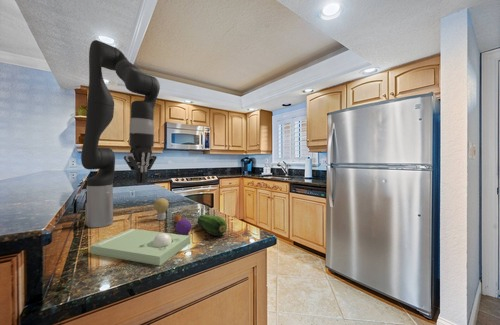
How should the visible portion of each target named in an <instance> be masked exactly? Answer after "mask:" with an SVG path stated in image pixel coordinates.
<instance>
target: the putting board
mask: <svg viewBox="0 0 500 325" xmlns="http://www.w3.org/2000/svg"><path fill="white" fill-rule="evenodd" d="M162 233H163V232H160V231H153V230H144V229H136V228H130V229H127V230H124V231H122V232H120V233H117V234H114V235H113V236H109V237H108V238H105V239H103V240H101V241H97V242H95V243H93V244H91V245H89V246H90V247H89V248H90V249H89V254H90V253H91V255H98V256H101V257H102V256H103V257H109V258H113V259H120V260H126V261H132V262H138V263H141V264H142V263H143V264H148V265H155V266H161V265H163V264H164V263H165V262H167V261H168V260H170V259H171V258H172V257H173V256H175V255H176V254H177V253H179V252H180V251H181V250H183V249H184V248H185V247H187V246H188V245H190V244H191V235H187V234H186V235H179V234H178V233H177V234H176V233H171V232H170V233H169V232H164V233H165V234H168V235H169V236H170V237H171V240H172V243H171V244H169V245H168V246H166V247H163V248H154V246H153V241H154V239H155V237H156V236H157V235H159V234H162Z"/></svg>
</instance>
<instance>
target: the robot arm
mask: <svg viewBox="0 0 500 325" xmlns="http://www.w3.org/2000/svg"><path fill="white" fill-rule="evenodd" d="M88 51H89V52H88V69H89V70H88V72H89V73H88V79H89V80H88V81H89V82H88V91H87V92H88V93H87V101H86V118H85V119H86V120H85V130H84V137H83V141H82V142H83V143H82V148H81V153H80V154H81V155H80V162H81V165H82V167H83V169H85V170H98V172H97V173H96V174H94V175H93V176H91V177H88V178H87V179H86V202H85V206H84V208H85V209H84V210H85V211H84V212H85V214H84V216H85V226H87V227H88V228H90V229H91V228H102V227H106V226H108V227H109V226H110V225H112V224H113V223H114V193H113V192H114V191H113V190H114V188H113V187H114V183H113V182H114V179H115V173H116V172H115V170H116V168H115V167H116V156H115V153H114V150H113V149H111V148H110V147H99V143H100V142H99V140H100V137H102V134H103V132H104V131H105V130H106V129H107V127H109V125H110V124H111V122H112V121H113V119H114V113H115V112H114V111H115V100H114V97H113V96H112V94H111V92H110V90H109V89H108V87H107V84H106V83H105V80H104V77H103V71H102V68H103V69H106V70H109V71H115V73H116V75H117V77H118V78H119V79H120V80H121V81H122V82H123V83H124V86H125V88H126V90H128V91H129V92H131V93H134V94H137V95H141V96H144V99H143V100H134V101H132V102H131V103H130V119H129V120H130V121H129V134H128V136H129V137H128V138H129V140H128V141H129V143H128V144H129V146H130V150H129V153H128V155H124V157H123V159H124V162H125V163H126V164H127V166H128V167H129V168H130V170H131V171H134V172H135V175H136V177H135V181H136V182H137V184H143V183H145V182H146V179H147V178H146V176H147V174H146V173H147V172H148V171H150V170H151V169H152V167H153V166H154V164H155V162H156V160H157V158H158V157H157V155H154V154H153V150H152V148H153V147H154V146H155V145H154V144H155V143H154V142H155V141H154V139H155V137H154V136H155V125H154V123H155V122H154V115H155V114H154V112H155V110H154V109H155V106H156V102H157V99H158V97H159V93H160V89H161V88H160V86H161V85H160V82H159V79H157V78H156V77H155V76H153V75H150V74H146V73H143V72H142V70H141V69H140V68H139V67H137V66H136V65H135V64H133V63H131V62H130V61H129V60H128V58H127V57H126V56H125V54H124V53H123V52H122V51H121V50H120V49H119V48H117V47H116V46H113V45H111V44H108V43H105V42H103V41H99V40H97V39H95V40H93V41H91V43H90V45H89V50H88Z"/></svg>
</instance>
